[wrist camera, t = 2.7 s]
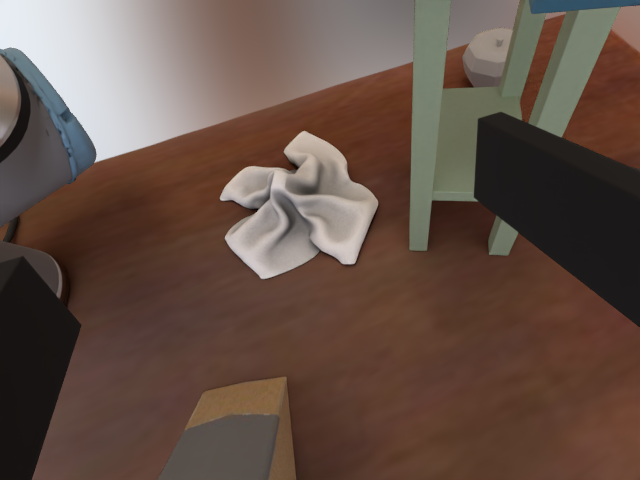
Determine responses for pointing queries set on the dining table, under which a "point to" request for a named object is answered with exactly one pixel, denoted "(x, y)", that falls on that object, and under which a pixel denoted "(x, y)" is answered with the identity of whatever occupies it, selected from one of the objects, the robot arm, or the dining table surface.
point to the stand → (488, 104)
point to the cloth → (299, 210)
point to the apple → (487, 57)
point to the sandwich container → (237, 435)
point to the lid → (576, 5)
